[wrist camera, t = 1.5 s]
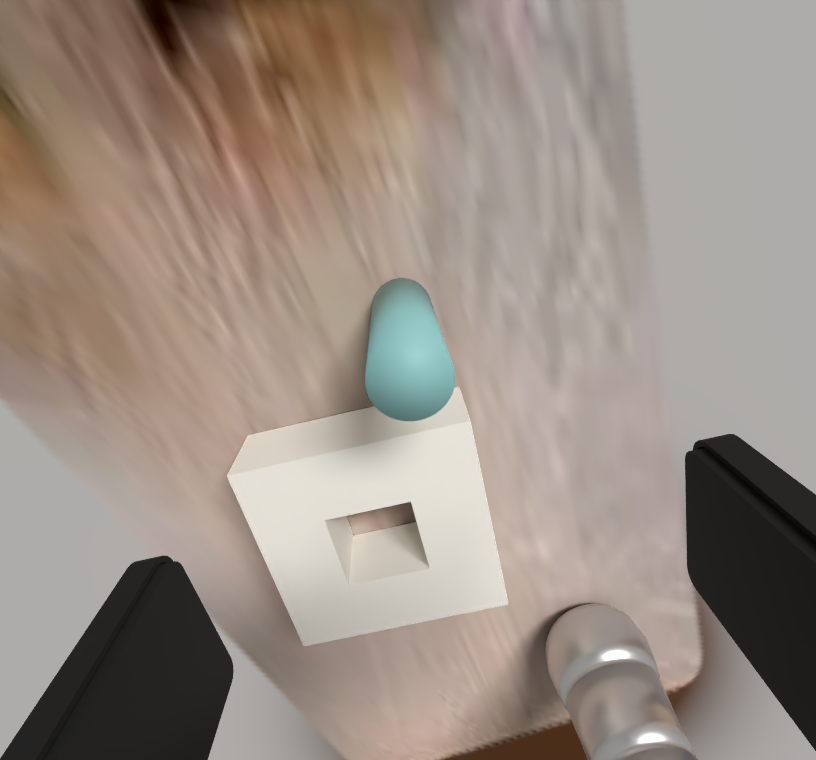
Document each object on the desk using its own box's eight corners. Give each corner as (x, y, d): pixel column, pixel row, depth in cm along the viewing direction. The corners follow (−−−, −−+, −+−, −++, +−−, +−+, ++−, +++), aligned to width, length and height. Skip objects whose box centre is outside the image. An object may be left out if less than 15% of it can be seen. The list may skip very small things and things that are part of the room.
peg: (365, 286, 25) (354, 349, 16) (424, 271, 24) (445, 328, 16) (380, 341, 26) (377, 429, 17) (436, 328, 26) (463, 410, 17)
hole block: (247, 435, 28) (226, 476, 24) (458, 386, 27) (470, 420, 23) (313, 592, 32) (303, 646, 29) (494, 553, 32) (508, 604, 28)
